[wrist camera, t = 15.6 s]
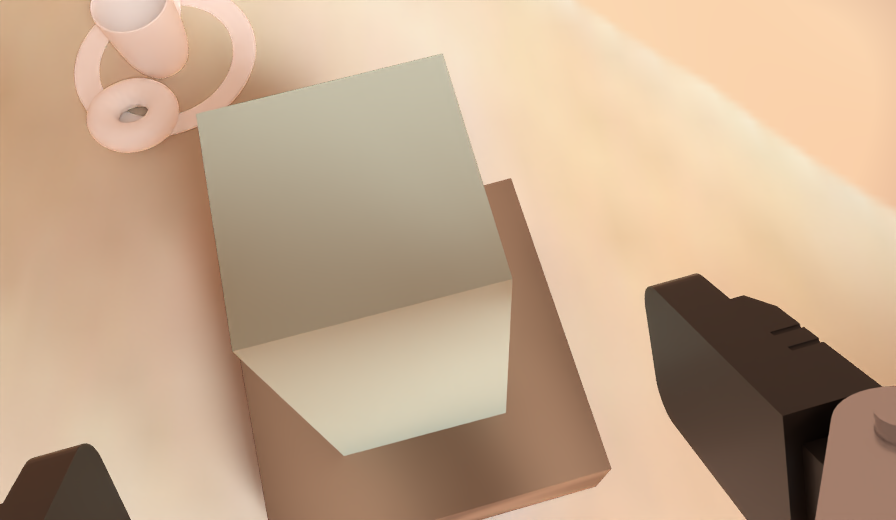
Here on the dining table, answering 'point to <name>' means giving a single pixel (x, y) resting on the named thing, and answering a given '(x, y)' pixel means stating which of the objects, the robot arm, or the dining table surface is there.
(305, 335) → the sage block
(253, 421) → the walnut plinth
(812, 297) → the dining table surface
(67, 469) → the robot arm
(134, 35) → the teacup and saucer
